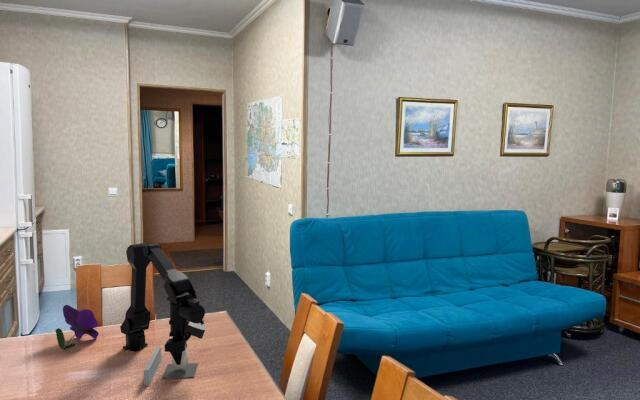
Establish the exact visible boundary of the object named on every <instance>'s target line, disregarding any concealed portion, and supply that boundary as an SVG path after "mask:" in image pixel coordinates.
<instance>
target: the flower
mask: <svg viewBox="0 0 640 400" xmlns="http://www.w3.org/2000/svg"><path fill="white" fill-rule="evenodd" d="M62 315H63V317H64V321H65V323H66V324H67V325H69V330H70V331H71V332H72V331H73V332H74V335H73V336H72V337H71V338H70V339H69V340H68V342H67V344H66V339H65V335H64V332H63V330H62V328H59V327H57V329H55V335H56V340H57V344H58V346H59V348H60V349H61V350H65V351H66V350H69V349H71V348H73V347H74V346H75V345H76V344H75V343H70V342H71V340H72V339H74V337H76V338H78V339H79V338H83V336H84V335H89V336H90V337H91V338H92V339H94V340H97V338H98V337H99V334H100V333H99V331H98V330H96V329H95V328H98V327H99V323H98V321H97V319H96V317H95V314H94V312H93V311H92V310H91V309H81V310H78V309H76V308H74V307H72V306H70V305H69V304H65V305H63V306H62Z"/></svg>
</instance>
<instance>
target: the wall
mask: <svg viewBox="0 0 640 400" xmlns="http://www.w3.org/2000/svg"><path fill="white" fill-rule="evenodd" d="M161 362H162V346H156V348H155V349H154V351H153V353H152V354H151V356H150V358H149V360H148V362H147V363H146V365H145V367H144V369H143V385H144V386H150V384H151V383H152V380H153V379H154V376H155V375H156V372H157V370H158V369H159V367H160V364H161Z"/></svg>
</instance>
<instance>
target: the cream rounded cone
mask: <svg viewBox="0 0 640 400" xmlns="http://www.w3.org/2000/svg"><path fill="white" fill-rule="evenodd" d="M188 347H189V346H187V347H186V349H185V351H183V353H182V359H181V364H180V365H177V364H176V362H175V360H174V358H173V357H172V356H171V358H172V359H171V361H172V363H171V364H172V367H173V368H175V369H183V368H186V367H187V366H188V363H189V348H188Z"/></svg>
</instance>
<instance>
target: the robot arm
mask: <svg viewBox="0 0 640 400" xmlns="http://www.w3.org/2000/svg"><path fill="white" fill-rule="evenodd" d="M125 253H126V259H127V260H126V261H127V262H128V263H129V265H130V267H131V282H130V283H131V284H130V285H131V286H130V290H131V291H130V305H129V307H128V308H127V310H126V311H125V317H124V320H123V322H122V323H121V325H120V327H119V329H120V333H122V335H125V345H123V346H122V349H124V350H128V351H132V352H137V351H140V350H142V349H143V348H145V347H148V345H149V343H147V342H146V335H145V331H146V330H149V329H150V322H151V321H152V320H151V314H152V313H151V311H150V310H148V308H147V307H146V291H147V268H148V267H149V265H150V263H151V264H152V265H153V267H154V268H155V270H156V271H157V273H158V274H159V275H160V276H161V279H162V280H163V289H164V290H165V292H166V294H167V296H168V297H166V301H168V302H169V320H168V325H170V326H169V327H170V332H169V333H168V335H169V336H168V337H171V338H168V339H167V340H166V342H165V344H164V352H166V353H170V355H171V358H172V357H173V358H174V360H175V362H176V364H177V365H180V364H181V359H182V353H183V351H185V349H186V347H188V344H187V342H188V341H189V339H190V338H191V337H192V336H193V337H195V338H197V339H200V340H201V339H203V336H205V332H206V329H207V324H206V323H205V320H204V318H205V315H206V310H205V308H204V307H203V305H201V304H200V301H199V300H196V299H197V298H198V296H197V292H196V290H195V288H194V285H193V284H192V282H191V279H190V278H189V277H188V276H187V275H186V274H185V273H183V272H182V271H179V270H177V269H176V268H175V266H174V265H173V264H172V262H171V260H170V259H169V258H168V256H167V255H166V254H165V253H164V252H163V250H162V247H161V244H159V243H150V244H149V242H141V243H135V244H130V245H129V246H127V248H126V251H125Z"/></svg>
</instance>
